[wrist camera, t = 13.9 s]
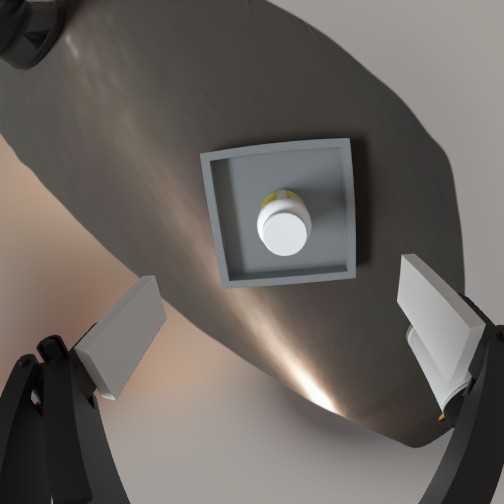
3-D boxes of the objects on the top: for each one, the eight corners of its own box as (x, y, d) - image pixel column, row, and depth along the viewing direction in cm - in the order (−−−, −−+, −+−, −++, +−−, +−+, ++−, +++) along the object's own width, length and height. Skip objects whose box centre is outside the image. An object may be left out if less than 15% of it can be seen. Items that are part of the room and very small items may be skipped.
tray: (206, 153, 32) (199, 153, 30) (343, 139, 30) (349, 138, 27) (227, 278, 38) (222, 288, 35) (350, 268, 36) (355, 277, 33)
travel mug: (437, 306, 36) (497, 390, 18) (436, 336, 38) (484, 418, 19) (404, 319, 38) (456, 414, 19) (405, 348, 39) (446, 439, 21)
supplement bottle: (262, 233, 34) (255, 264, 25) (259, 189, 32) (251, 204, 23) (306, 232, 34) (314, 262, 24) (305, 188, 32) (315, 203, 23)
